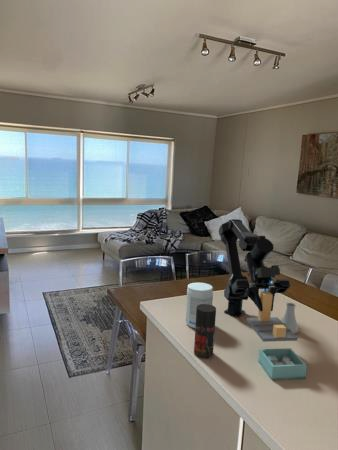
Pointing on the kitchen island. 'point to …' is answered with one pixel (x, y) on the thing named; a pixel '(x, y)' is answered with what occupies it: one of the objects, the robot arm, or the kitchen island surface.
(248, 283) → the robot arm
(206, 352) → the deodorant
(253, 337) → the kitchen island surface
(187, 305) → the supplement tub
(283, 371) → the tub
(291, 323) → the flask
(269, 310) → the gray board with blocks
